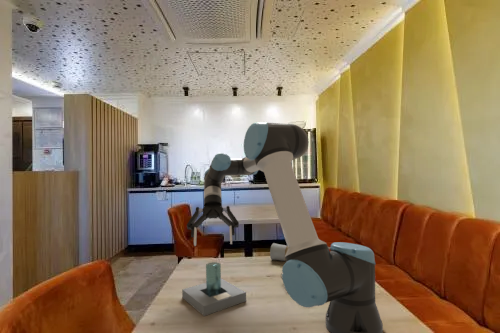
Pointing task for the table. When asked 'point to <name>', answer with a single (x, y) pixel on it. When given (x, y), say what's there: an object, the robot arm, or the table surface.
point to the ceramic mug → (278, 252)
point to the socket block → (213, 297)
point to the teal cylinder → (213, 279)
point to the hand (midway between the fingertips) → (213, 243)
